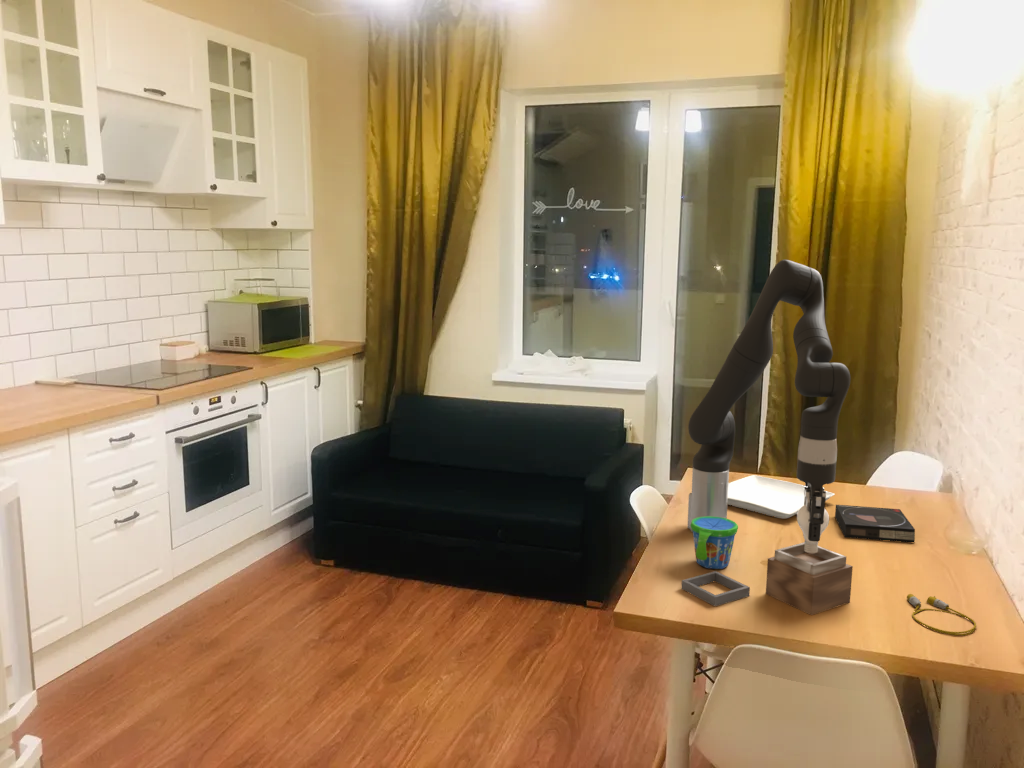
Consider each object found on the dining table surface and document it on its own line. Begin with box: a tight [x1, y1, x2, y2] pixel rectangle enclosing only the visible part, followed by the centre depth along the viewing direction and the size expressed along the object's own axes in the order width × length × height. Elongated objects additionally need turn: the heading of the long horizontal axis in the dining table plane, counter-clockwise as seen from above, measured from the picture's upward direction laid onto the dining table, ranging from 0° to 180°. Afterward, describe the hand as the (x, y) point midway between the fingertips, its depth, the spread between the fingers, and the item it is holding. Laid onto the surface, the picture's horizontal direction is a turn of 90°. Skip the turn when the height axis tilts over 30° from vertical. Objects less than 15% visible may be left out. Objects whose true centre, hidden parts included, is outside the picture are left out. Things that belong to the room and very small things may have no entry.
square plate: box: [727, 474, 835, 520], centre depth 237 cm, size 27×27×4 cm
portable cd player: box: [834, 504, 916, 543], centre depth 214 cm, size 16×17×4 cm
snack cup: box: [691, 516, 739, 570], centre depth 190 cm, size 16×10×10 cm
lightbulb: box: [796, 504, 830, 554], centre depth 170 cm, size 6×6×11 cm
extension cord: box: [906, 593, 977, 636], centre depth 163 cm, size 12×16×2 cm
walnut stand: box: [765, 541, 853, 616], centre depth 172 cm, size 12×12×10 cm
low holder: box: [680, 570, 751, 607], centre depth 175 cm, size 10×10×2 cm
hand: (811, 534), depth 170 cm, fingers closed on lightbulb, 6 cm apart
